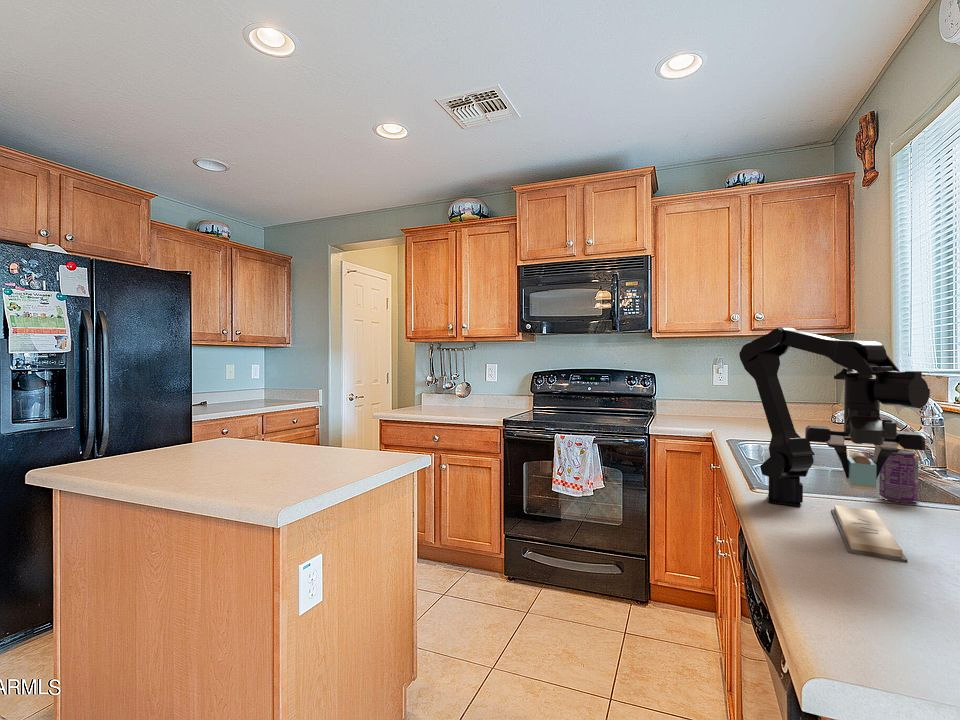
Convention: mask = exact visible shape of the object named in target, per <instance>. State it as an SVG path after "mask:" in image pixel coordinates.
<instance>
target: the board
mask: <svg viewBox="0 0 960 720" xmlns="http://www.w3.org/2000/svg"><path fill="white" fill-rule="evenodd" d="M831 511H832V512H831V514H832V516H833V519H834V518H835V519H834V521H835V523H837V524H836V526H837V529H838V530H840V531H839V533H840V535H841V538H842V541H843V542H844V544H845V547H846V549H847V552H848V553H850V554H855V555H862V556H865V557H866V556H868V557H872V558H880V559H884V560H885V559H886V560H890V561H891V560H893V561H897V562H904V563H908V558H907V557H906V555H905V554H904V553H903V548H901V546H900V544H899V543H898V541H897V540H896V539H895V538H894V536H893V535H892V533H891V532H890V531H889V529H888V527H887V526H886V525H885V524H884V522H883V521H882V519H881V518H880V516H879V515H878V514H877V512H876V511H875V510H874V509H867V508H857V507H851V506H844V505H836V504H834V508H831Z"/></svg>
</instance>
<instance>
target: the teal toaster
mask: <svg viewBox="0 0 960 720" xmlns="http://www.w3.org/2000/svg"><path fill="white" fill-rule="evenodd" d="M847 459H848V467H849V478H846V477H845V481H846V483H847V484H848V486H849V487H850V489H855V490H857V489H858V490H865V491H874V492H877V480H876V468H877V465H876V464H875V463H874V462H873V460H872V459H871V458H868V457H867V456H866V455H864V454H863V453H862V452H854V453H853V454H852V455H851V456H847Z"/></svg>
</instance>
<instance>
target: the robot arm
mask: <svg viewBox="0 0 960 720" xmlns="http://www.w3.org/2000/svg"><path fill="white" fill-rule="evenodd" d="M790 348H793V349H798V350H800V351H801V350H802V351H805V352H808V353H812V354H816V355H820V356H823V357H825V358H828V359H830V360H831V361H832V362H833V363H835V364H836V365H839V366H841V367H843V368H842V369H841V370H840V372H838V373H836V374H835V375H834V376H833V379H834V380H839V381H840V380H843V381H844V389H843V390H844V391H843V392H844V394H843V395H844V397H843V398H844V399H843V400H844V401H843V406H844V407H843V430H831V429H830V428H829V426H826V425H814V424H813V425H811V424H809V425H807V426H806V427H805V429H804V430H805V432H804V433H805V435H804V437H802V436H800V435H799V434H798V433H797V432H796V430H795V427H794V423H793V420H792V417H791V414H790V411H789V407H788V405H787V402H786V398H785V395H784V393H783V390H782V386H781V384H780V383H781V382H780V380H779V377H778V372H779V369H780V365H781V361H780V357H782V356H783V355H784V354H786V353H787V352H788V350H789V349H790ZM738 357H739V359H740V362H741V364H742V367H743V368H744V370H745V371H746V372H747V373H748V374H749V375H750V376H751V377H752V378H753V380H754V381H755V385H756V388H757V391H758V394H759V398H760V401H761V403H762V407H763V410H764V414H765V417H766V420H767V423H768V427H769V430H770V433H771V439H770V442H769V445H768V452H769V458H767V459H766V460H765V461H764V462H763V463H762V464H761V465H760V466H759V467H760V472H761V475H763V476H765V477H768V494H767V502H768V503H771V504H778V505H785V506H793V507H801V506H802V505H801V504H803V503H804V501H803V500H804V499H803V498H804V497H803V495H804V485H803V483H802V482H801V477H804V478H805V477H807V475H808V473H809V470H810V469H811V468H812V466H813V465H814V456H815V455H816V454H815V452H814V451H813V449H812V446H811V442H813V443H825V444H826V445H827V447H829V448H833V450H834V451H835V453H836V454H837V457H838V459H839V461H840V465H841V468H842V471H843V473H844V476H845V479H846V478H849V467H848V459H847V457H848V455H847V454H848V452H847V449H848V448H847V444H845V441H848V442H849V441H851V442H852V443H854V444H856V445H862V444H867V445H874V450H873V451H874V452H873V460H872V461H873V462H874V463H875V464H876V465H877V468H876V481H877V479H878V477H879V476H880V471H881V469H882V467H883V465H884V463H885V461H886V460H887V458H888V457H889V456H890V455H891V454H892V453H894V452H895V453H898V452H899V449H900V448H898V447H899V446H900V447H902V449H904V450H910V451H926V440H925V437H924V436H922V435H921V434H919V433H917V432H915V431H904V430H903V431H902V430H898V429H897V427H898V425H897V424H898V423H897V420H895V419H887V418H886V419H884V418H883V419H881V416H880V414H881V413H880V410H881V408H880V407H881V404H882V405H884V406H893V407H902V408H903V407H905V408H913V409H914V408H915V409H920V408H923V407H925V406H927V403H928V402H929V400H930V396H931V390H930V388H929V385H928V383H927V381H926V379H924V378H923V375H922V374H923V372H922V371H919V370H910V371H901V370H900V369H899V368H898V366H897V365H896V364H895V363H894V362H893V360H892V359H891V358H890V357H889V355H888V354H887V351H886V349H885V346H884V344H882V343H881V342H878V341H873V340H871V341H870V340H851V339H850V340H848V339H847V340H846V339H845V340H844V339H837V338H832V337H829V336H826V335H825V336H824V335H819V334H815V333H810V332H806V331H802V330H798V329H795V328H793V327H777V328H776V327H775V328H774V329H772V330H771V331H769V332H768V333H767V334H764V335H762V336H759V337H758V338H755V339H754V340H752V341H751V342H747V343H746V344H744V345H743V346H742V347H741V349H740V351H739V356H738ZM874 376H875V377H874Z"/></svg>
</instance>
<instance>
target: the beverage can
mask: <svg viewBox="0 0 960 720" xmlns="http://www.w3.org/2000/svg"><path fill="white" fill-rule="evenodd" d="M898 449H899V452H898V453H895V452H894V453H892V454H891V455H890V456H889V457H888V458H887V460H886V461H885V463H884V465H883V467H882V469H881V471H880V473H879V479H878V480H879V488H878V490H879V491H878V494H879V495H880V496H881V497H882V498H883V499H884V500H887V501H890V502H894V501H898V502H897V503H900V502H911V503H913V502H918V500H919V460H918V457H917V455H916V451H915V450H911V449H904V448H898Z"/></svg>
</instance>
